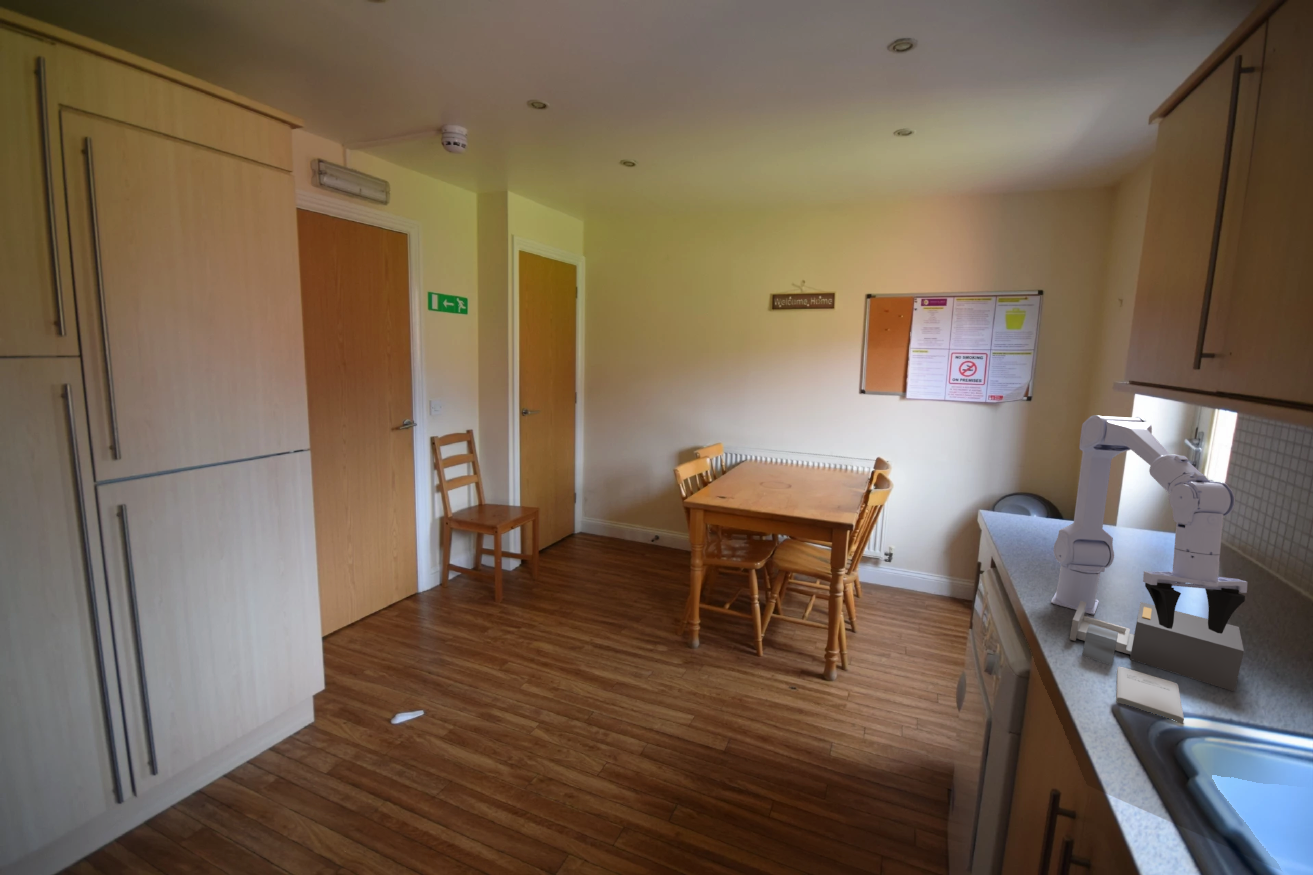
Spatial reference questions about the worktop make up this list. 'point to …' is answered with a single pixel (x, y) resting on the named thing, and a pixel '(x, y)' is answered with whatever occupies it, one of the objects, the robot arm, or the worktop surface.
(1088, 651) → the block
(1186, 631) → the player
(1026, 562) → the worktop surface
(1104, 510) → the robot arm
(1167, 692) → the external hard drive
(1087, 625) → the tray
